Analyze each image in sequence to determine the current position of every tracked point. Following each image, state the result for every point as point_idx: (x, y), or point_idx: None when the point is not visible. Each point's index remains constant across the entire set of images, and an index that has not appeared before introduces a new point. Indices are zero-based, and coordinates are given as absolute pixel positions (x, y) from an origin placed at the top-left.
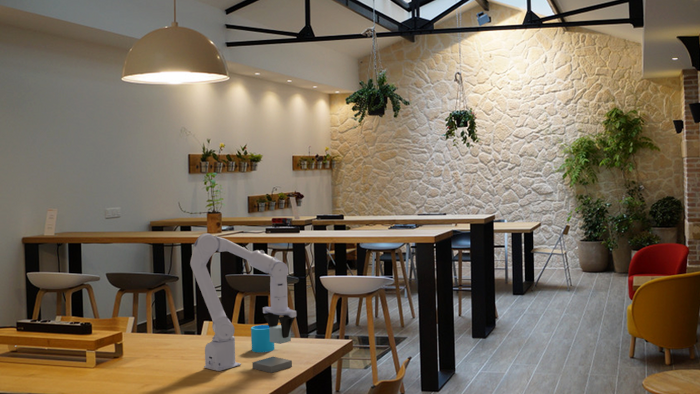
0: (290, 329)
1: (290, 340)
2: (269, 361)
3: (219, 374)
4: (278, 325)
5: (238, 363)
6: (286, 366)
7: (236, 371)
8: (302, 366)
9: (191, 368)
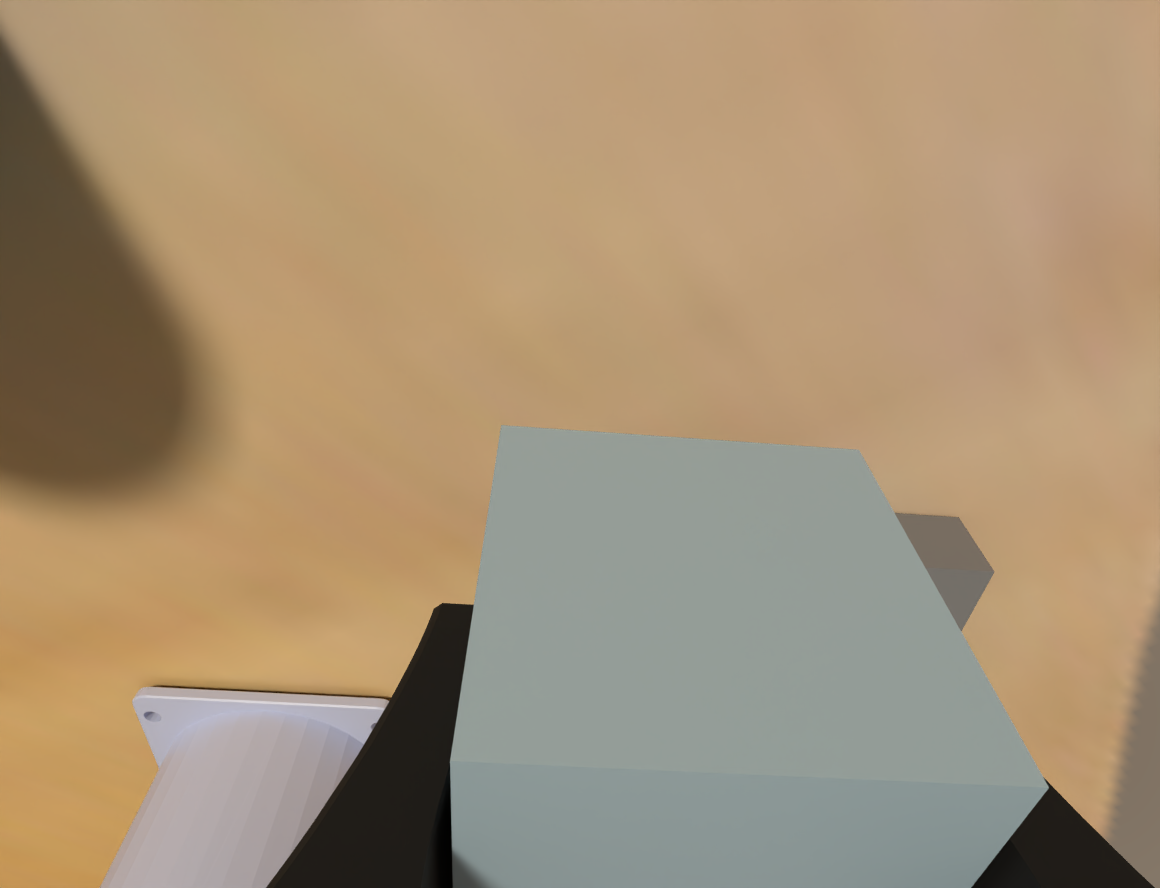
0: (990, 687)
1: (859, 466)
2: None
3: None
4: (505, 849)
5: (363, 718)
6: None
7: None
8: (1094, 455)
9: None
